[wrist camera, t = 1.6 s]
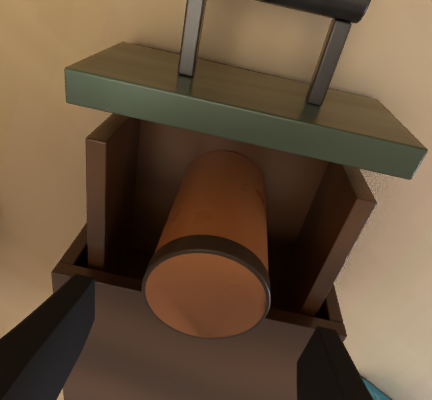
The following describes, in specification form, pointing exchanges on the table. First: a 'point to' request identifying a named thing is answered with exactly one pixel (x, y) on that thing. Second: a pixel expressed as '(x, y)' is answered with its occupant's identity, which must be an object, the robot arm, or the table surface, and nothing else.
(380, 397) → the data package
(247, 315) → the tea tin
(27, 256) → the table surface
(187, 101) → the drawer
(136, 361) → the cabinet
